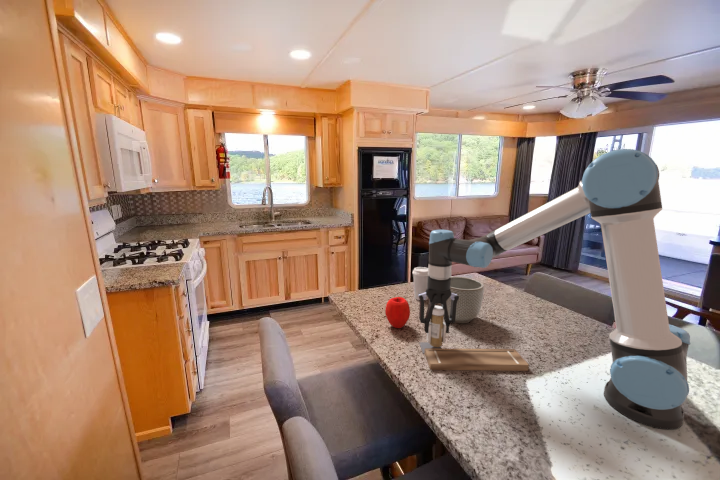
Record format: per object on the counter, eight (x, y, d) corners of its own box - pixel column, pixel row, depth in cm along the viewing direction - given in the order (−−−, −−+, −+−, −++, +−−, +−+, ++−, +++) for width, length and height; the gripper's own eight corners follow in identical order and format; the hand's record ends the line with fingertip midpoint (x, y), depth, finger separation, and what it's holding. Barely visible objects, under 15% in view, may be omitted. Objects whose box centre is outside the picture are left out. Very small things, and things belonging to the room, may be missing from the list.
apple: (391, 318, 130) (392, 291, 127) (413, 324, 125) (414, 295, 122) (380, 328, 121) (381, 298, 119) (403, 334, 116) (404, 304, 114)
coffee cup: (433, 297, 154) (435, 268, 151) (427, 303, 146) (428, 273, 143) (415, 293, 159) (416, 265, 156) (408, 299, 151) (409, 270, 148)
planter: (430, 318, 130) (432, 282, 127) (452, 307, 142) (454, 274, 139) (467, 332, 118) (470, 293, 115) (489, 319, 129) (492, 283, 126)
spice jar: (445, 345, 106) (447, 308, 103) (435, 348, 103) (438, 311, 101) (435, 339, 110) (437, 303, 107) (426, 343, 107) (427, 306, 105)
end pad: (443, 353, 103) (443, 353, 103) (423, 353, 103) (423, 352, 103) (438, 343, 110) (438, 342, 110) (419, 342, 110) (419, 342, 110)
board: (528, 370, 94) (528, 364, 94) (430, 369, 94) (430, 363, 94) (514, 354, 103) (514, 348, 103) (424, 353, 103) (424, 348, 103)
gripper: (462, 273, 105) (457, 335, 110) (411, 272, 106) (409, 335, 110) (469, 280, 98) (464, 347, 102) (414, 279, 98) (412, 346, 103)
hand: (435, 340), depth 106 cm, fingers closed on spice jar, 4 cm apart
